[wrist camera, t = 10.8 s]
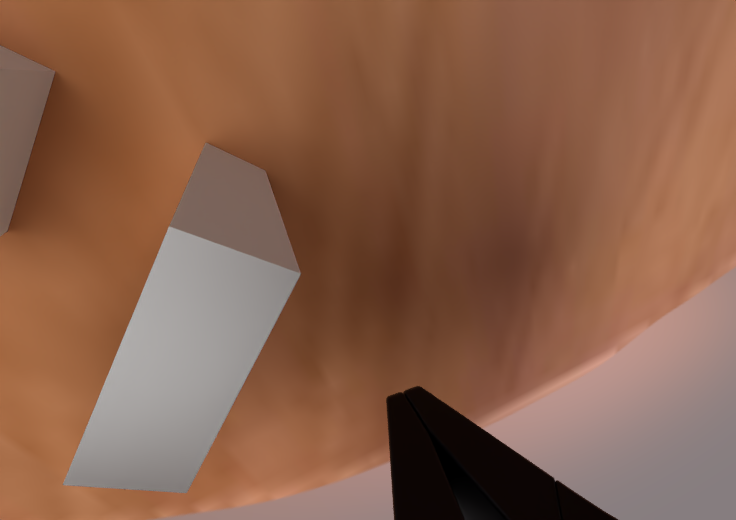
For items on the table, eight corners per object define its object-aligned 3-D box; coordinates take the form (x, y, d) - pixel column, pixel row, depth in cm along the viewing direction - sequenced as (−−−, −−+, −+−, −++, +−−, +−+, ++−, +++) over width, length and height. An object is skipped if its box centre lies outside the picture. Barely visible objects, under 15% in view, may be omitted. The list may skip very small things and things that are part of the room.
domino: (265, 170, 13) (300, 273, 6) (209, 291, 14) (186, 493, 7) (205, 142, 12) (169, 226, 5) (151, 274, 13) (62, 485, 6)
